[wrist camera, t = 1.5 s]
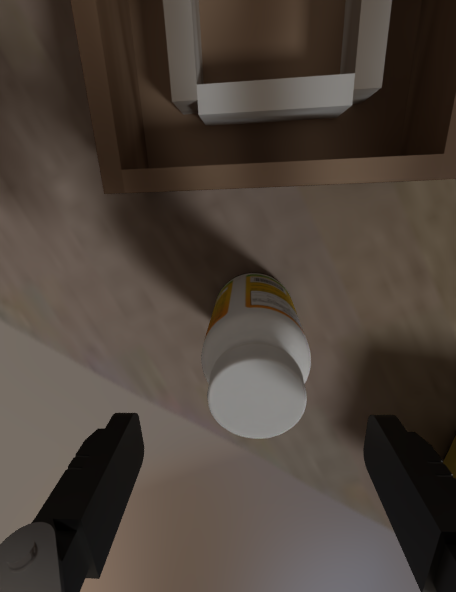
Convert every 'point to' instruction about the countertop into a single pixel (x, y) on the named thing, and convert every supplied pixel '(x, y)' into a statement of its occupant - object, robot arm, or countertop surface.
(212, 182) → the walled box
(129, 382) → the countertop surface
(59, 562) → the robot arm
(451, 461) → the flower pot
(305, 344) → the supplement bottle
